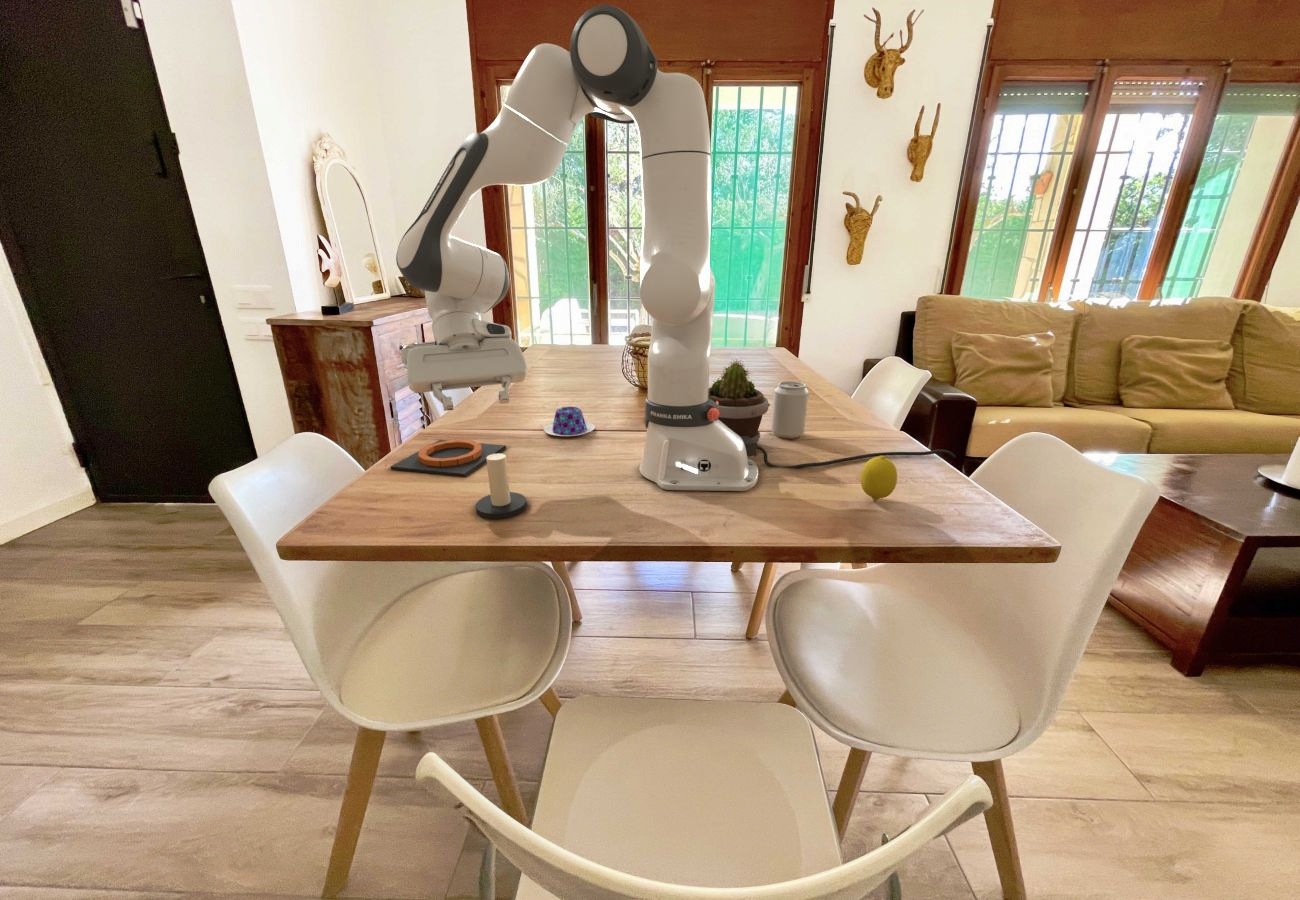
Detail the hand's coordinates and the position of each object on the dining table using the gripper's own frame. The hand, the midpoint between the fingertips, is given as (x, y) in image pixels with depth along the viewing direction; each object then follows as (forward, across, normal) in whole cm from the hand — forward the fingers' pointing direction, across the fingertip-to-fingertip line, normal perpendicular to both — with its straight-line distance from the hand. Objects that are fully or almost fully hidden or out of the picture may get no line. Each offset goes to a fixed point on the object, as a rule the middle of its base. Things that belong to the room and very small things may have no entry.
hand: (477, 405), depth 89 cm
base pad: (-1, -4, +21) cm, 22 cm away
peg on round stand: (+19, 0, +2) cm, 19 cm away
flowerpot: (+14, +51, +7) cm, 53 cm away
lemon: (+37, +56, -17) cm, 70 cm away
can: (+14, +67, +7) cm, 69 cm away
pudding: (-4, +23, +25) cm, 35 cm away
